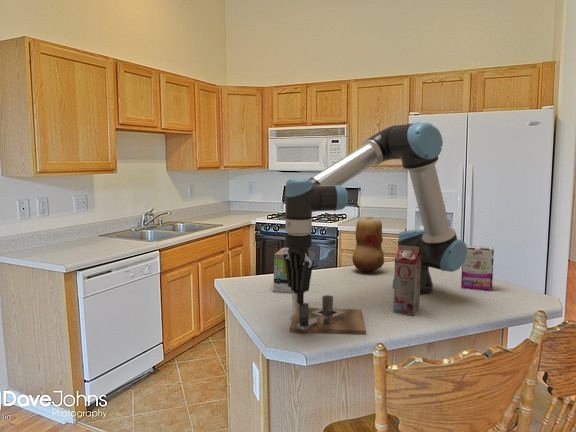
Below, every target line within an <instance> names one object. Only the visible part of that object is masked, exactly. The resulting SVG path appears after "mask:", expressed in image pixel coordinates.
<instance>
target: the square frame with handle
mask: <svg viewBox="0 0 576 432" xmlns="http://www.w3.org/2000/svg"><path fill="white" fill-rule="evenodd" d="M309 306H310V305H309V303H307V302H303V303H301V304H300V323H299V324H297V328H298V329H301V330H304V331H305V330H307V329H309V328H312V327H314V326H316V325H317V317H319V316H322V317H324V322H325V323H328V324H331V323H333V322H335V321H338V320H340V319H342V318H344V312H342V311H338V310H335V309H336V308H333V314H332V315H330V316H328V315H324V314H322V309H319V310H316V311H314V312H311V318H312V319H309V308H310V307H309Z"/></svg>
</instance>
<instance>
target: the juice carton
mask: <svg viewBox="0 0 576 432" xmlns="http://www.w3.org/2000/svg"><path fill="white" fill-rule="evenodd" d="M393 275H394V277H393V280H394V288H393V310H392V311H393V313H394V314H400V315H406V316H411V317H414V316H415V315H417V314H418V313H419V312H420V304H421V303H420V301H421V294H420V277H421V254H420V253H419V247H414V246H403V245H399V246H398V245H397V251H396V253H395V256H394V274H393Z"/></svg>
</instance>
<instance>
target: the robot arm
mask: <svg viewBox="0 0 576 432" xmlns="http://www.w3.org/2000/svg"><path fill="white" fill-rule="evenodd" d="M442 136H443V135H442V134H441V132H440V130H439V129H438V128H437V127H436V126H435V125H433V124H432V123H429V122H417V121H416V122H414V123H413V122H412V123H405V124H396V125H391V126H388V127H385V128H384V129H382V130H381V131H379V132H377V133H375V134H373V135H372V136H370V137H368V138H367V139H365V140H364V141H363V142H362V144H361V146H360V147H357V148H356V149H355V150H353V151H352V152H349V154H347V155H345V156H344V157H342V158H341V159H339V160H337V161H336V162H333V163H332V164H331V165H329V166H328V167H325V168H324V169H322V170H321V171H319V172H318V173H316V174H315V175H313V176H312V177H309V178H307V179H306V178H290V179H288V180H287V181H286V184H285V193H284V197H285V199H284V200H285V211H284V213H285V224H284V225H285V233H286V234H285V237H284V239H285V240H284V242H285V243H284V244H285V245H284V246H285V248H289V249H288V253H287V254H283V257H284V260H285V266H286V274H287V283H288V287H291V290H292V293H291V294H292V295H291V296H292V298H291V300H292V315H293V314H295V315H296V314H300V304H301V303H305V301H304V298H305V296H304V293H306V292H309V290H310V284H311V278H312V271H313V268H314V265H315V261H314V260H311V259H310V252H309V248H311V247H312V237H313V236H312V234H311V233H312V232H313V223H312V222H313V219H312V218H313V213H314V212H315V213H316V212H327V211H328V212H331V211H333V212H335V211H341V210H343V209H346V206H347V205H348V201H349V198H348V197H349V194H348V191H347V189H346V187H345V186H343V185H344V184H346V183H347V182H349V181H350V180H353V178H355V177H356V176H358V175H359V174H361V173H362V172H364V171H365V170H367V169H368V168H370V167H372V166H378V165H380V164H381V163H383V162H386V161H391V160H401V164H402V167H403V169H404V170H406V171H408V172H409V176H410V177H409V178H410V180H411V183H412V184H411V185H412V189H413V192H414V196H415V199H416V203H417V208H418V212H419V216H420V218H421V223H422V227H423V229H410V230H403V231H401V232H399V235H398V240H397V247H398V246H399V245H403V246H414V247H419V253H420V254H421V277H420V295H422V294H429V293H432V292H433V290H434V283H433V280H432V276H431V273H430V268H432V269H437V270H440V271H442V272H449V273H453V272H456V271H458V270H459V269H461V268H462V265H463V263H464V261H465V259H466V256H467V246H468V245H467V244H466V242H465V241H463V240H462V239H458V237H457V231H456V230H455V229H454V228H452V227H451V226H450V223H449V219H448V213H447V210H446V205H445V201H444V198H443V193H442V190H441V189H442V188H441V185H440V181H439V176H438V172H437V168H436V164H437V162H439V156H440V154H441V152H442V147H443V137H442ZM392 289H394V279H393V280H392Z"/></svg>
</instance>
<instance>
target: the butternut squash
mask: <svg viewBox="0 0 576 432" xmlns="http://www.w3.org/2000/svg"><path fill="white" fill-rule="evenodd" d="M383 240H384V238H383V223H382V221H381V220H380V219H379V217H376V216H363V217H360V218H359V219H358V220H357V222H356V226H355V241H356V243H355V244H356V245H355V249H354V251H353V253H352V263H353V265H354V267H355V268H356V269H357V270H359V271H361V272H364V273H373V272H375V271H377V270H379V269H382V266H383V265H384V264H385V256H384V250H383V248H382V244H383Z"/></svg>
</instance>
